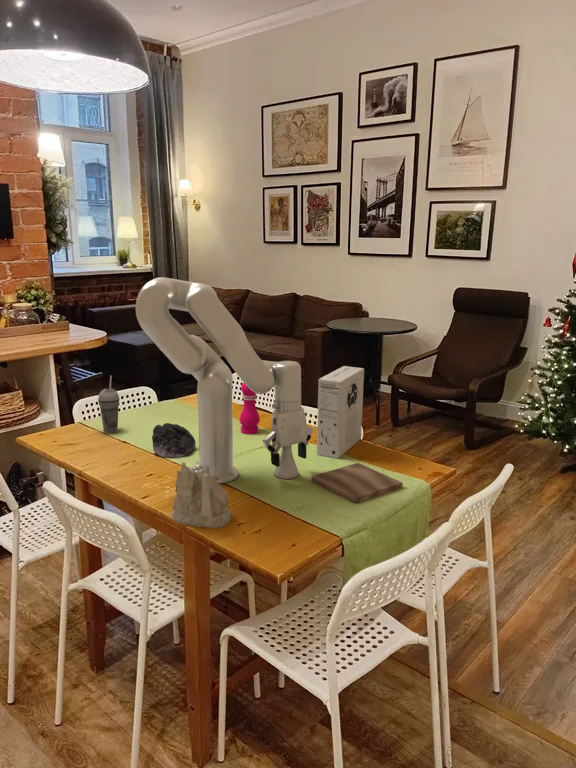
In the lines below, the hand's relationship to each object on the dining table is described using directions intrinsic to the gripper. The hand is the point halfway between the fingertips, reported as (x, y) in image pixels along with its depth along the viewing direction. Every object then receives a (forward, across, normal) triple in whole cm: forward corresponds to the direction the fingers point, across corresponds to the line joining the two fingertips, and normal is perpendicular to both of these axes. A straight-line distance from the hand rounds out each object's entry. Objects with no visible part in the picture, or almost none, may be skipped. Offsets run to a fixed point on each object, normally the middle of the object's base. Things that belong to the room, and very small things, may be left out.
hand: (289, 461), depth 173 cm
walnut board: (+5, +11, -16) cm, 20 cm away
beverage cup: (+2, -28, +68) cm, 73 cm away
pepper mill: (+4, +12, +40) cm, 42 cm away
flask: (+4, -1, 0) cm, 4 cm away
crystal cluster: (+3, -18, +37) cm, 42 cm away
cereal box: (+5, +28, +10) cm, 30 cm away
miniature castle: (+4, -32, -7) cm, 33 cm away
